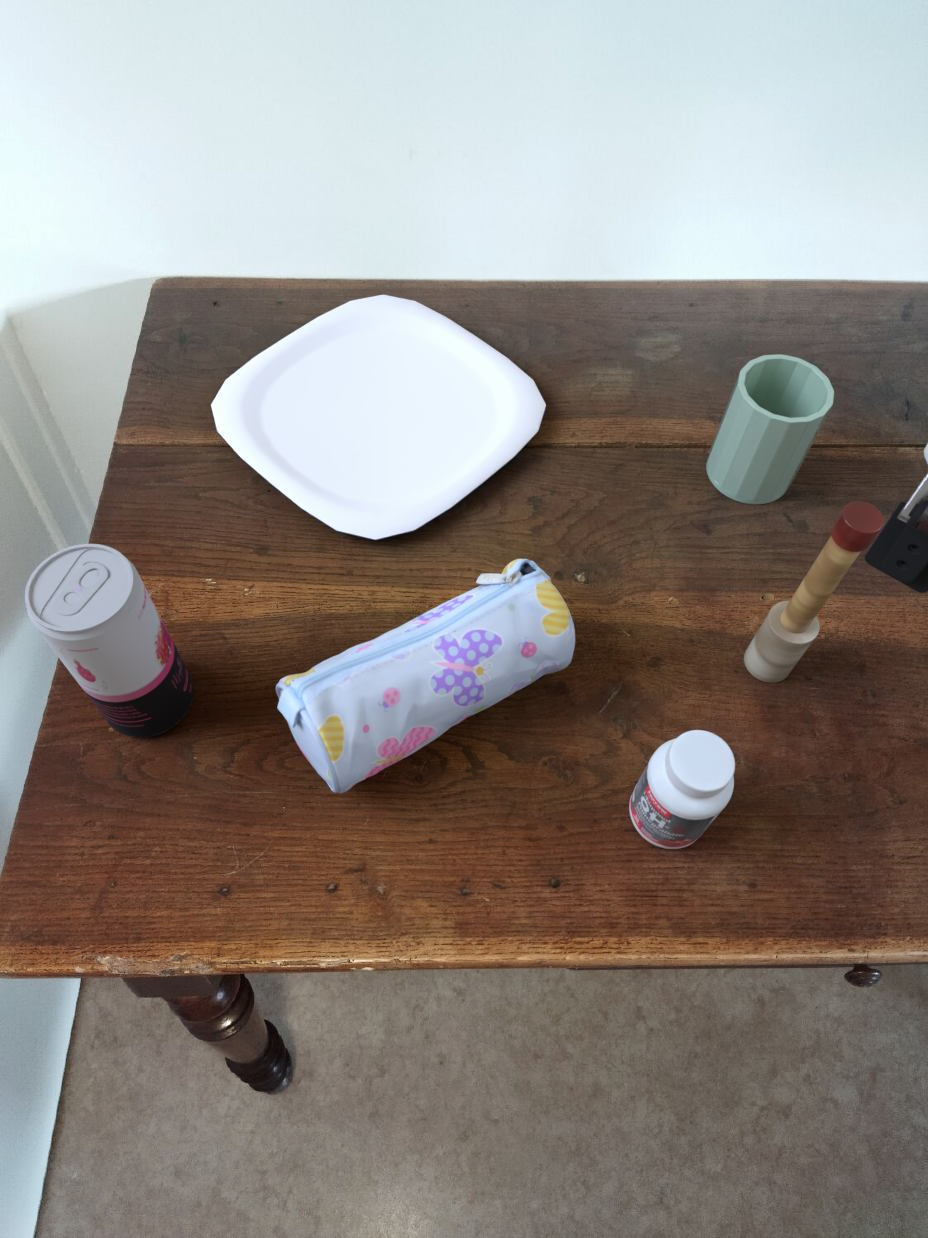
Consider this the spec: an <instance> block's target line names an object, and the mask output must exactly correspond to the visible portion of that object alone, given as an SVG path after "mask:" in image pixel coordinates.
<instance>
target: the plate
mask: <svg viewBox="0 0 928 1238" xmlns="http://www.w3.org/2000/svg"><path fill="white" fill-rule="evenodd" d="M210 407H211V411H212V415H213V419H214V424H215V428H216V432H217V434H218V435H219V436H220V437H221V438H222V439H223V440H224V441H225V443H226V444H227V445H228V446H229V447H230V448H231V449H232V451H233V452H234V453H235V454H236V455H237V456H238V457H239V458H240V460H242V461H243V462H244V463H245V464H247V466H248V467H250V468H251V469H252V470H254V471H255V472H256V473H257V474H258V475H259V476H260V477H262V478H263V479H264V480H265V481H266V482H267V483H268V484H270V485H271V486H272V487H273V488H274V489H276V490H277V492H279V493H281V494H282V495H283V496H284V497H286V498H287V499H288V500H289V501H291V502H292V503H293V504H294V505H295V506H297V507H298V508H299V509H301V510H302V511H303V512H305V513H306V514H308V515H309V516H311V517H313V518H314V519H316V520H317V521H319V522H321V523H322V524H324V525H326V526H327V527H328V528H329V529H331V530H333V531H335V532H337V533H340V534H346V535H348V536H353V537H358V538H362V539H366V540H370V541H375V542H377V541H381V540H384V539H390V538H393V537H397V536H401V535H405V534H410V533H414V532H416V531H418V530H419V529H421V528H422V527H424V526H425V525H427V524H429V523H431V522H432V521H433V520H435V519H437V518H439V517H440V516H442V515H443V514H445V513H447V512H449V511H450V510H451V509H453V508H454V507H455V506H456V505H458V504H459V503H460V502H461V501H462V500H464V499H465V498H466V497H468V496H469V495H470V494H472V493H473V492H474V491H476V490H477V489H478V488H479V487H481V486H482V485H483V484H485V483H486V482H487V481H488V480H489V479H490V478H492V477H493V476H494V475H496V473H497V472H499V471H500V470H502V468H504V467H505V466H506V465H507V464H509V463H510V462H511V461H512V460H513V459H515V457H517V455H518V454H519V453H521V451H522V450H523V449H524V448H525V447H526V446H527V445H528V444H529V442H530V441H532V439H533V438H534V437H536V436H537V434H538V433H539V430H540V427H541V424H542V421H543V417H544V414H545V411H546V407H547V404H546V402H545V400H544V398H543V396H542V394H541V391H540V390H539V388H538V386H537V383H536V382H535V381H534V379H533V378H532V377H531V376H529V375H528V374H527V373H526V372H524V370H523V369H521V368H520V367H519V366H518V365H517V364H515V363H514V362H513V361H512V360H511V359H509V358H508V357H507V356H505V355H504V354H502V353H501V352H500V351H498V350H497V349H495V348H494V347H493V346H491V345H489V344H488V343H486V342H485V341H484V340H482V339H481V338H479V337H478V336H476V335H475V334H473V333H472V332H470V331H468V330H467V329H466V328H464V327H463V326H461V325H459V324H458V323H456V322H455V321H453V320H452V319H451V318H449V317H447V316H445V315H444V314H441V313H439V312H437V311H435V310H434V309H431V308H430V307H428V306H426V305H424V304H422V303H420V302H418V301H416V300H412V299H408V298H403V297H397V296H393V295H388V294H380V295H379V294H378V295H373V296H369V297H362V298H357V299H353V300H349V301H346V302H345V303H343V304H341V305H339V306H337V307H335V308H333V309H330V310H329V311H326V312H325V313H323V314H320V315H319V316H317V317H315V318H314V319H312V320H310V321H309V322H307V323H305V324H304V325H302V326H301V327H299V328H297V329H295V330H293V331H292V332H291V333H290V334H288V335H286V336H284V337H283V338H281V339H280V340H278V341H276V342H275V343H273V344H272V345H270V346H269V347H267V348H266V349H264V350H262V351H261V352H260V353H258V354H256V355H255V356H253V357H252V358H250V360H248V361H247V362H245V364H244V365H242V366H241V367H240V368H238V369H237V370H236V371H234V373H232V374H231V375H229V377H227V378H226V379H225V380H224V382H223V384H222V385H221V387H220V388H219V390H218V392H217V393H216V396H215V398H213V400H212V402H211V404H210Z"/></svg>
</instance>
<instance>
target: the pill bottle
mask: <svg viewBox="0 0 928 1238" xmlns="http://www.w3.org/2000/svg"><path fill="white" fill-rule="evenodd" d="M735 770H736V760H735V756H734V753H733V751H732V749H731V747H730V746H729V744H728V743H727V742H726V741H725V740H724V739H723V738H722V737H720V736H718V735H717V734H715V733H713V732H711V731H708V730H704V729H703V730H702V729H692V730H688V731H685V732H683V733H681V734H680V735H679V736H677V737H675V738H672V739H670V740H668V741H666V742H664V743H662V744H661V745H660V746H659V747H658V748H657V749H656V750H655V751H654V752H653V754H652V755H651V756H650V758H649V761H648V762H647V764H646V766H645V768H644V770H643V772H642V773H641V775H640V777H639V779H638V781H637V783H636V784H635V786H634V788H633V791H632V793H631V795H630V799H629V804H628V810H629V817H630V819H631V822H632V825H633V827H634V828H635V829H636V831H637V832H638V834H639V835H640V836H641V837H642V838H643V839H644V840H646V842H648V843H649V844H651V845H653V846H656V847H659V848H662V849H666V850H680V849H683V848H687V847H689V846H691V845H692V844H694V843H695V842H696V841H697V840H698V839H699V838H700V837H701V836H702V835H703V834H704V833H705V831H706V830H707V829H708V828H709V827H710V825H711V824H712V823H713V822H714V821H715V819H716V818H717V817H718V816H719V815H720V814H721V812H722V811H723V810H724V809H725V808H726V807H727V805H728V804H729V802H730V800H731V798H732V797H733V796H732V795H733V793H734V788H735V787H734V786H735V778H734V777H735V776H734V774H735Z"/></svg>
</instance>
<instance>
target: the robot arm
mask: <svg viewBox="0 0 928 1238" xmlns="http://www.w3.org/2000/svg"><path fill="white" fill-rule="evenodd" d="M923 456H924V459H925V462H926V464H927V465H928V442H927V443H926V445H925V447H924V449H923ZM927 496H928V472H927V473H926V474H925V476H924V477H923V478H922V480H921V482H920V483H919V484H918V486H917V487H916V489H915V491H913V493H912V495H911V496H910V498H908V501H907V502H905V501H903V500H901V501H900V503H899V504H898V505H897V507H896V508H895V509H894V511H893V513H892V514H891V516H890V517H889V519H888V520H887V522H886V524H885V525H884V526H883V527H882V529H881V530H880V532H879V533H878V536H876V538H875V540H874V542H872V545H871V546H870V547H869V549H868V550H867V552H866V554H865V555H864V561H865V562H866V564H867V565H869V566H871V567H873V568H874V569H876V570H878V571H880V572H882V573H883V574H885V575H887V576H889V577H891V578H892V579H894V580H895V581H898V582H899V583H901V584H903V585H904V586H906V587H908V588H910V589H912V590H914V591H915V592H918V593H921V594H925V593H927V592H928V499H927Z"/></svg>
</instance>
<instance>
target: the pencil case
mask: <svg viewBox="0 0 928 1238" xmlns="http://www.w3.org/2000/svg"><path fill="white" fill-rule="evenodd" d="M475 584H478V585H479V586H477V587H474V588H472V589H470V590H467V591H466V592H464V593H462V594H460V595H458V596H455V597H454V598H451V599H449V600H447V601H445V602H443V603H440V604H439V605H437V606H436V607H434V608H431V609H430V610H428V611H426V612H424V613H422V614H420V615H418V616H416V617H414V618H413V619H410V620H409V621H407V622H405V623H403V624H402V625H400V626H398V627H395V628H393V629H391V630H388V631H386V632H384V633H382V634H381V635H379V636H377V637H376V638H374V639H371V640H368V641H366V642H362V643H359V644H356V645H353V646H352V647H349V648H347V649H346V650H344V651H342V652H341V653H339V654H336V655H333V656H330V657H329V658H327V659H324V660H323V661H321V662H319V663H317V664H316V665H314V666H312V667H311V668H310V669H309V670H307V671H305V672H301V673H294V674H288V675H286V676H284V677H282V678H280V679H279V681H278V683H277V684H276V685H275V693H276V695H277V698H278V703H277V708H276V709H277V710H278V711H279V712H280V713H281V715H282V716H283V717H284V719H285V720H286V722H287V724H288V728H289V730H290V733H291V734H292V736H293V739H294V742H295V743H296V745H297V746H298V748H299V750H300V751H301V753H302V755H303V756H304V758H306V760H307V761H308V762H309V763H310V765H311V766H312V768H313V769H314V770H315V771H316V773H317V774H318V775H319V776H320V777H321V778H322V780H324V781H325V782H326V784H327V786H328V787H329V788H330V790H331V791H332V793H334V794H336V793H338V794H344V793H346V792H348V791H349V790H350V789H352V788H353V787H354V786H355V785H357V784H358V783H360V782H362V781H364V780H366V779H367V778H369V777H373V776H375V775H377V774H379V773H380V772H381V771H383V770H384V769H386V768H388V767H390V766H392V765H394V764H397V763H398V762H400V761H402V760H403V759H405V758H407V757H409V756H410V755H413V754H414V753H416V752H417V751H419V750H420V749H422V748H424V747H425V746H427V745H428V744H430V743H432V742H433V741H435V740H437V739H438V738H439V737H441V736H442V735H443V734H445V733H446V732H447V731H448V730H450V728H452V727H454V726H456V725H459V724H460V723H462V722H463V721H464V720H466V719H467V718H469V717H472V716H474V715H476V714H478V713H480V712H482V711H484V710H486V709H489V708H491V707H492V706H494V705H496V704H497V703H499V702H501V701H503V700H504V699H506V698H508V697H509V696H511V695H513V694H515V693H516V692H517V691H520V690H522V689H523V688H525V687H528V686H529V685H531V684H533V683H534V682H536V681H537V680H538V679H540V678H541V677H543V676H545V675H549V674H554V673H556V672H560V671H563V670H565V669H566V668H567V667H569V665H570V664H571V663H572V659H573V655H574V652H575V647H576V630H575V623H574V620H573V617H572V614H571V612H570V609H569V607H568V605H567V603H566V601H565V599H564V598H563V596H562V595H561V593H560V592H559V590H558V589H557V588H556V586H555V585H554V584H553V583H552V578H551V576H549V575H548V574H547V573H546V572H545V571H544V570H543V569H542V568H541V567H540V566H539V565H538V564H537V563H536V562H535V561H534V560H530V559H528V558H516V559H514V560H512V561H510V562H509V563H508V564H507V565H505V567H504V568H503V570H502V571H501V573H492V572H490V573H488V572H487V573H486V572H485V573H480V574H479V576H478V577H477V579H476V581H475Z"/></svg>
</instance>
